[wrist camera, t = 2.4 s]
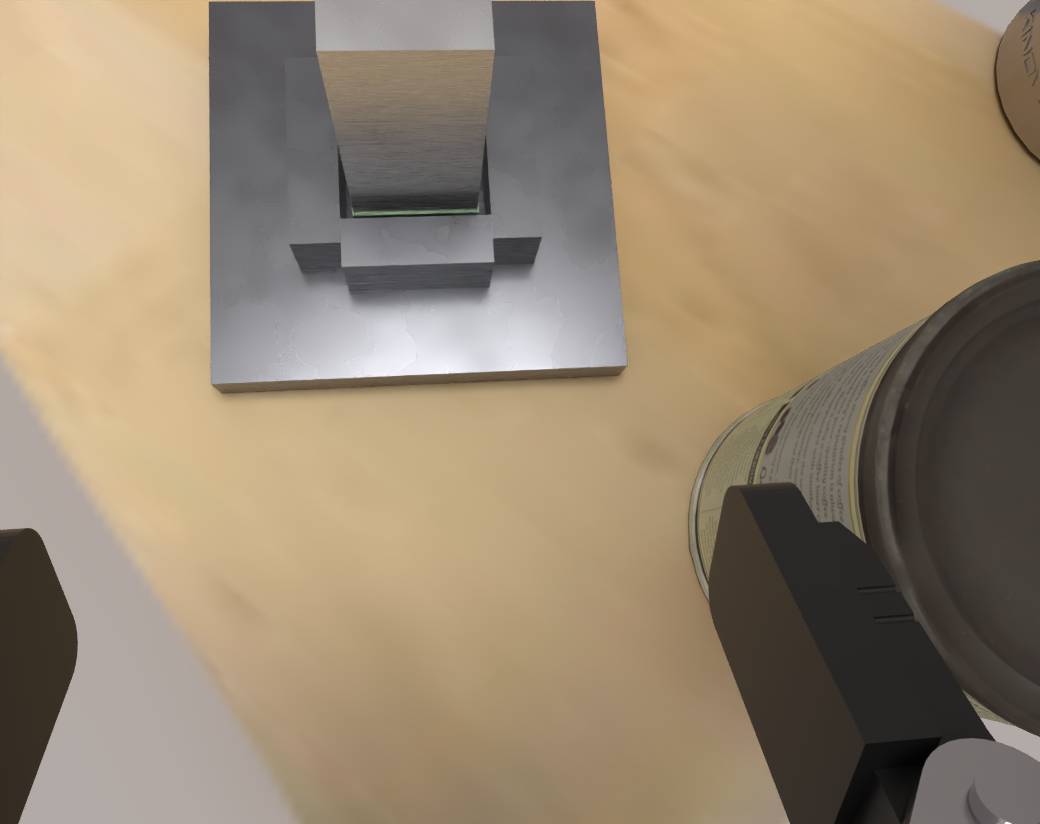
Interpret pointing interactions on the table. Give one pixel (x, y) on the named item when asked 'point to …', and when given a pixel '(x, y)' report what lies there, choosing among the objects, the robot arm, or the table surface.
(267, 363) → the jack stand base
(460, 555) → the table surface
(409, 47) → the steel column
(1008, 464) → the coffee can
